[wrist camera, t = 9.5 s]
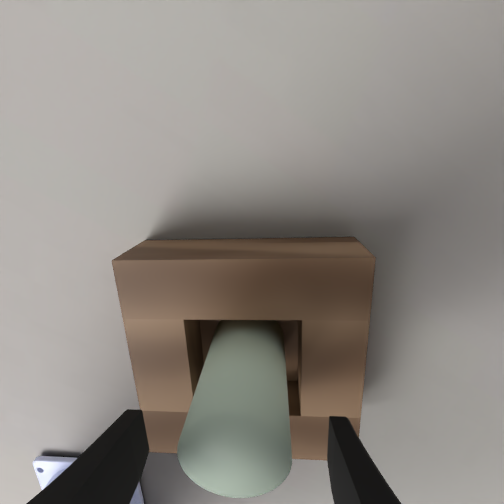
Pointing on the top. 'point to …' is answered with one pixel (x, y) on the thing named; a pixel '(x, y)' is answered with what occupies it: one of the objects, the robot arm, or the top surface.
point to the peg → (240, 413)
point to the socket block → (248, 308)
